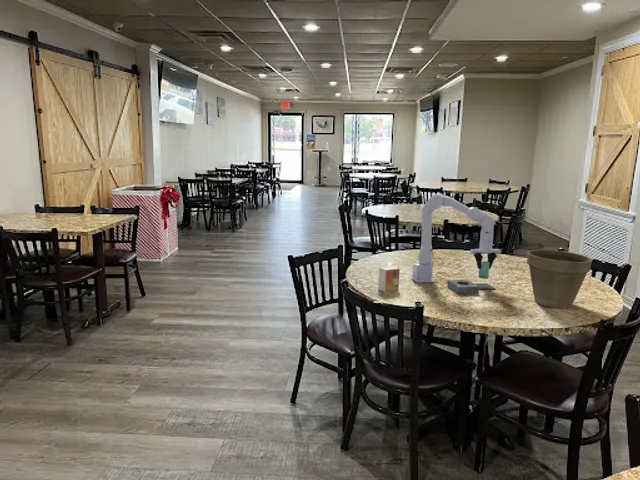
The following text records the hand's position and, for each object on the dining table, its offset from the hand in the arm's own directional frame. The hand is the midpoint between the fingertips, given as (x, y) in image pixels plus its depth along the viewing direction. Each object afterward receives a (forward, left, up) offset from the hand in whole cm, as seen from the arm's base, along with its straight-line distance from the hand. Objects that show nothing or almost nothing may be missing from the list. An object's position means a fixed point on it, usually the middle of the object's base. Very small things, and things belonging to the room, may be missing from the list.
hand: (483, 268), depth 230 cm
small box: (-47, 0, -10) cm, 48 cm away
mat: (0, 0, -9) cm, 9 cm away
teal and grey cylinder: (0, 0, -4) cm, 5 cm away
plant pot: (+20, -26, -10) cm, 34 cm away
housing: (-12, -4, -9) cm, 16 cm away
